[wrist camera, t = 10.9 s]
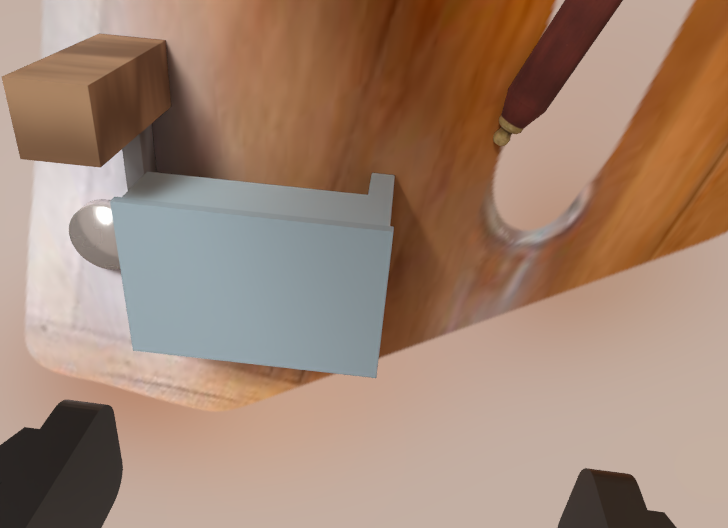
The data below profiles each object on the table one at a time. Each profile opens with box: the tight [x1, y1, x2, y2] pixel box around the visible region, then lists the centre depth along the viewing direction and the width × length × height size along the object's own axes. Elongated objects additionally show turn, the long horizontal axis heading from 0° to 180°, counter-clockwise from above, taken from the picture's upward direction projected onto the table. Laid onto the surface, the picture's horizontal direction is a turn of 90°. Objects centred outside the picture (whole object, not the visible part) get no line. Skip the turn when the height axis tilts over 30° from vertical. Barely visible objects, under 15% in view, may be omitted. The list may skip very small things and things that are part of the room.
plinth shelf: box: [110, 172, 395, 378], centre depth 39 cm, size 10×15×8 cm
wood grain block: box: [2, 34, 171, 191], centre depth 36 cm, size 16×4×10 cm, turn 175°
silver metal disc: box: [69, 199, 120, 269], centre depth 43 cm, size 5×5×1 cm
